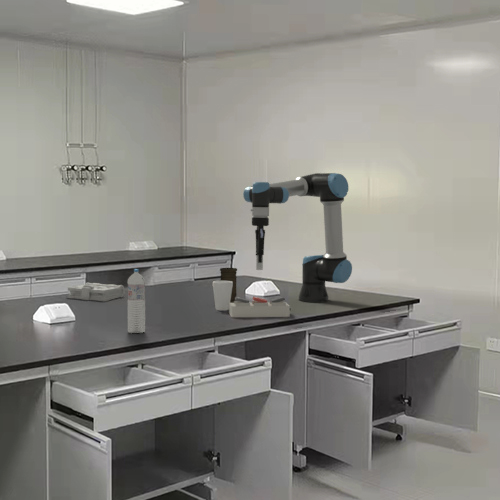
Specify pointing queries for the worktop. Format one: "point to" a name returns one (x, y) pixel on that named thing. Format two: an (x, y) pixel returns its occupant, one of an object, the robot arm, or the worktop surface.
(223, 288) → the foam cup
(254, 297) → the plate
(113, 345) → the worktop surface
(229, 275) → the container
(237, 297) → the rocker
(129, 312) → the water bottle
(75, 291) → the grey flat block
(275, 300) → the rocker
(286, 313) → the switch panel
